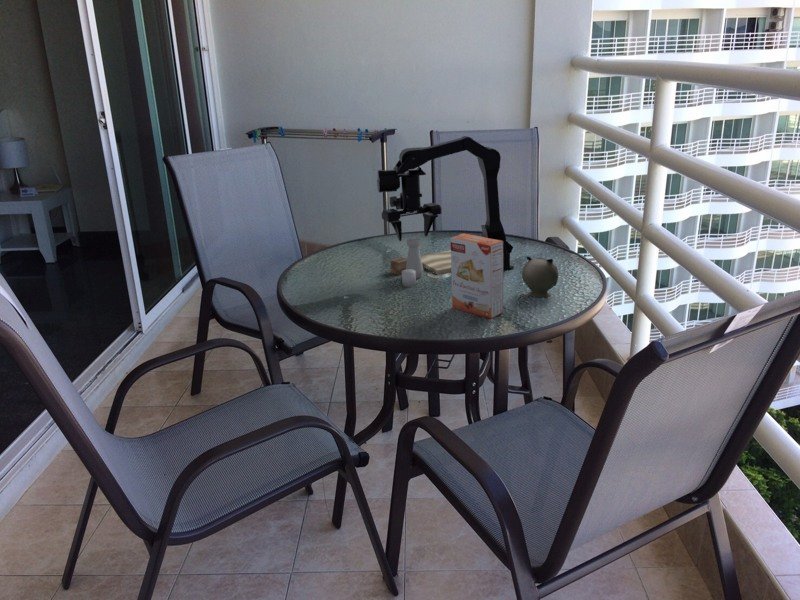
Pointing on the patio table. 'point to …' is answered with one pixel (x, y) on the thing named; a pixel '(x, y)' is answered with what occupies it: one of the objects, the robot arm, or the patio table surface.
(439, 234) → the patio table surface
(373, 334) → the patio table surface
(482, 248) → the cracker box
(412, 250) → the salt shaker
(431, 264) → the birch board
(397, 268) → the walnut block
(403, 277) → the white rounded cube
